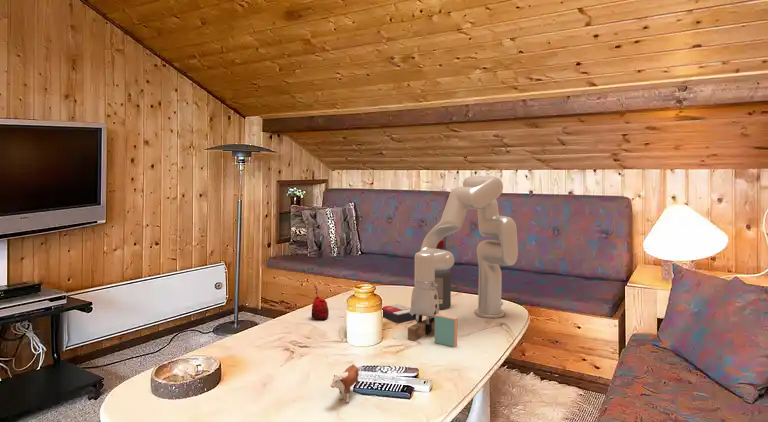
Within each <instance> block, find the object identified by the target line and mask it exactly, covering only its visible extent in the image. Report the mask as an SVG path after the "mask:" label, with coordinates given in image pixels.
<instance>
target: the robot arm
mask: <svg viewBox="0 0 768 422" xmlns="http://www.w3.org/2000/svg"><path fill="white" fill-rule="evenodd" d="M503 187H504V184H503V181H502V180H501V178H499V177H497V176H487V175H486V176H483V175H473V176H472V175H471V176H467V177H466V178H464V180H463V182H462V186H456V187H453V188H452V189H451V191H450V192H449V195H448V198H447V200H446V204H445V207H444V210H443V212H442V214H441V215H442V216H441V219H440V221H439V222H438V223H437V224H436V225H434V227H432V229H430V231H429V232H427V234H426V236H425V237H424V239H423V241H422V243H421V246H420V250H419V251H418V252H416V253H415V254H414V287H412V292H411V298H410V299H411V300H410V308H411V309H410V311H409V313H410V314H411V315H412V316H413V317H414V318H415V320H414V321H415V322H416V323H419V322H421V321H423V316H424V317H425V319H426V321H427V324H426V336H428V335H430V334H432V333H431V331H432V323H433V322H434V321H435V317H433V316H435V315H436V314H440V310H439V299H438V293H437V289H435V287H437V284H436V283H435V270H447V269H450V270H451V268H452V267H453V266H454V264H455V256H454V254H453V253H452V252H451V251H448V250H446V249H443V250H440V249H436V247H437V245H438V243H439V242H440V240H443V239H444V238H446V237H447V236H449V235H451V234H454V233H456V232H459V231H460V230H461V229H462V227H463V224H464V221H465V218H466V216H467V212H468V210H477V220H478V231H479V234H480V235H481V236H482V237H484V238H488V239H485V240H482V241H480V242H479V243H478V245H477V246H476V257H477V263H478V295H477V299H478V300H477V301H478V302H477V303H478V305H477V308H476V309H474V314H475V315H476V317H477V316H478V317H481V318H487V319H498V318H502V317H505V314H506V313H505V311H504V310H503V309H502V306H503V305H504V302H503V301H502V285H503V284H502V280H503V279H502V277H503V275H502V274H503V273H502V269H501V267H500V266H505V267H510V266H514V265H515V264H516V263H517V260H518V256H519V246H518V245H519V244H518V243H519V242H518V231H517V230H518V229H517V224H516V222H515V219H513V218H512V217H509V216H505V215H500V212H499V205H498V200H497V198H499V197H500V196H501V194H502V192H503V189H504V188H503ZM493 239H494V240H493ZM495 239H496V240H495Z"/></svg>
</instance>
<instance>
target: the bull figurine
mask: <svg viewBox="0 0 768 422" xmlns="http://www.w3.org/2000/svg"><path fill="white" fill-rule="evenodd" d="M359 375H360V373H359V368H358V367H357V365H355V364H351V365H349V366H348V367H347V368H346V369H345V370H344V371H343V372H342V373H341V374H333V378H332V382H331V383H330V388H332V389H335V388H336V389H338V391H339V394H340V395H339V401H342V400H343V399H344V393H345V396H346V398H345V401H344V403H345V404H349V403H350V398H349V397H350V392H351V388H352V387H353V386H354V385H355V386H356V385H357V384H358V385H359Z"/></svg>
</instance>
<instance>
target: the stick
mask: <svg viewBox="0 0 768 422" xmlns="http://www.w3.org/2000/svg"><path fill="white" fill-rule="evenodd" d="M433 317H435V315H434V316H433ZM426 324H427V321H426V318H425V319H424V320H423V319H422V321H421V322H419V323H417V322H416V323H414V324H412V325H410V326H408V327H407V340H409V341H413V342H416V341H418V340H419V339H422V338H424V337H426V336H427V335H426ZM432 333H435V321H434V322H433V323H432V331H431V333H430V334H432Z"/></svg>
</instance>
